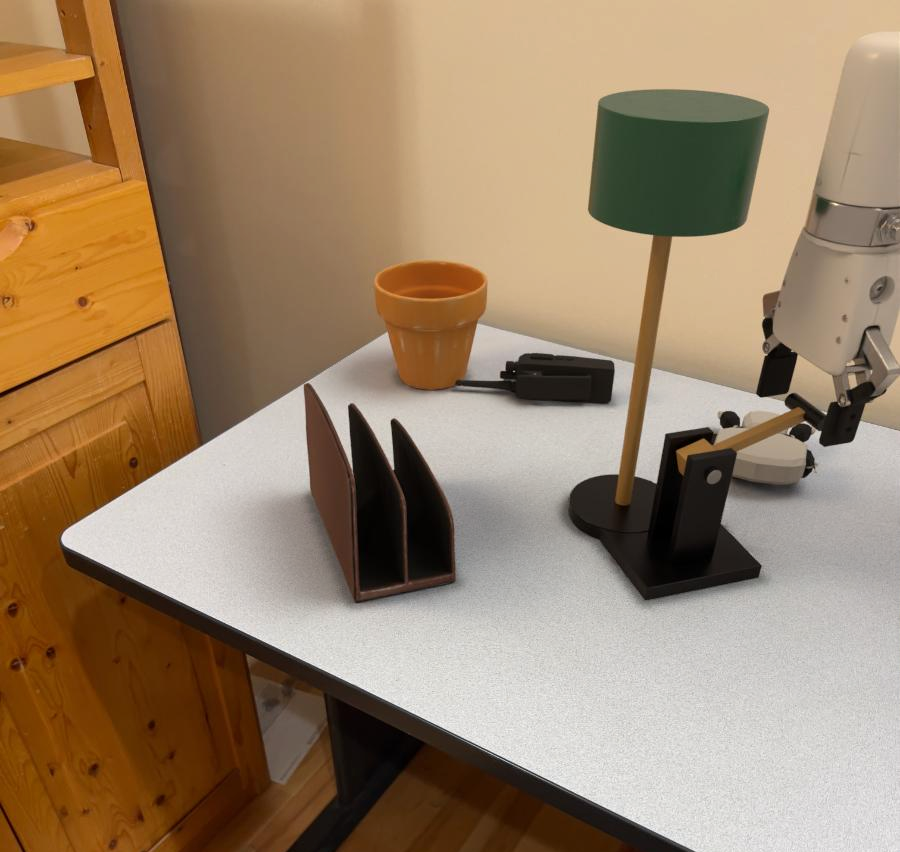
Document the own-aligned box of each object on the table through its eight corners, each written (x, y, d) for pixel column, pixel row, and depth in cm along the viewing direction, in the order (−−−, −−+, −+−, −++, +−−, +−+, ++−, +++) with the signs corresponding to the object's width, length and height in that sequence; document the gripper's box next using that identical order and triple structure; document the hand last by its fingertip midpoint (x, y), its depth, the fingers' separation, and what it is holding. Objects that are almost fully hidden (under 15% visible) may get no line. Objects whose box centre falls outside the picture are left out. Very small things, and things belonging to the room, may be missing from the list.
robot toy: (709, 431, 108) (691, 483, 96) (717, 396, 105) (699, 445, 94) (814, 450, 105) (808, 506, 93) (824, 414, 102) (819, 467, 90)
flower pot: (427, 410, 110) (425, 308, 102) (357, 374, 118) (350, 277, 110) (506, 377, 118) (511, 280, 109) (436, 345, 126) (435, 252, 118)
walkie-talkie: (616, 348, 109) (455, 341, 110) (613, 397, 108) (451, 389, 110) (611, 367, 115) (458, 359, 116) (608, 413, 114) (455, 405, 116)
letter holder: (353, 604, 81) (342, 471, 72) (310, 494, 95) (296, 371, 86) (457, 583, 83) (458, 451, 74) (399, 478, 98) (394, 358, 89)
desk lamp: (668, 480, 98) (740, 88, 74) (698, 549, 87) (793, 121, 63) (551, 482, 97) (585, 89, 73) (567, 552, 87) (614, 122, 63)
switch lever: (798, 407, 82) (797, 385, 81) (831, 432, 79) (831, 409, 77) (671, 463, 82) (668, 443, 80) (698, 491, 78) (695, 470, 77)
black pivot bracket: (705, 521, 91) (730, 409, 83) (758, 578, 84) (792, 460, 76) (599, 541, 88) (614, 426, 80) (645, 601, 81) (667, 481, 73)
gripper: (977, 249, 64) (901, 457, 74) (830, 188, 76) (783, 373, 87) (890, 259, 62) (825, 471, 73) (754, 195, 75) (715, 383, 85)
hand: (802, 417), depth 80 cm, fingers open, 9 cm apart
